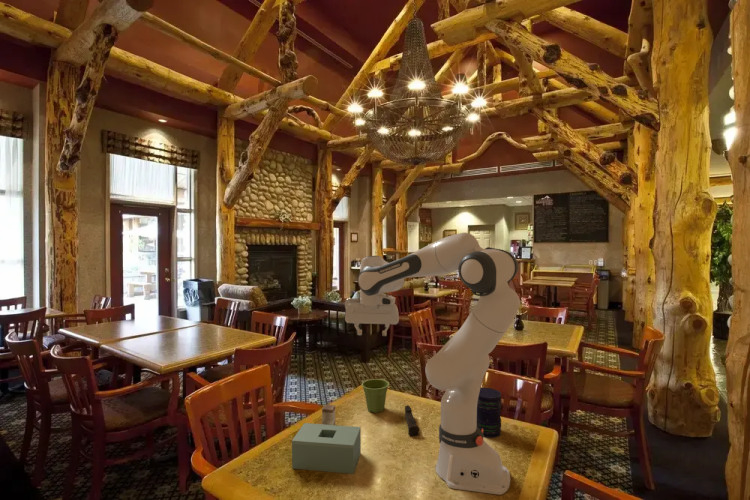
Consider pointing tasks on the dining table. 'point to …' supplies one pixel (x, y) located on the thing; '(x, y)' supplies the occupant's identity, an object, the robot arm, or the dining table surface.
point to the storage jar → (489, 412)
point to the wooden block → (328, 415)
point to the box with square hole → (326, 448)
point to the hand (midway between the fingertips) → (372, 335)
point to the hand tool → (411, 422)
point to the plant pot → (375, 394)
